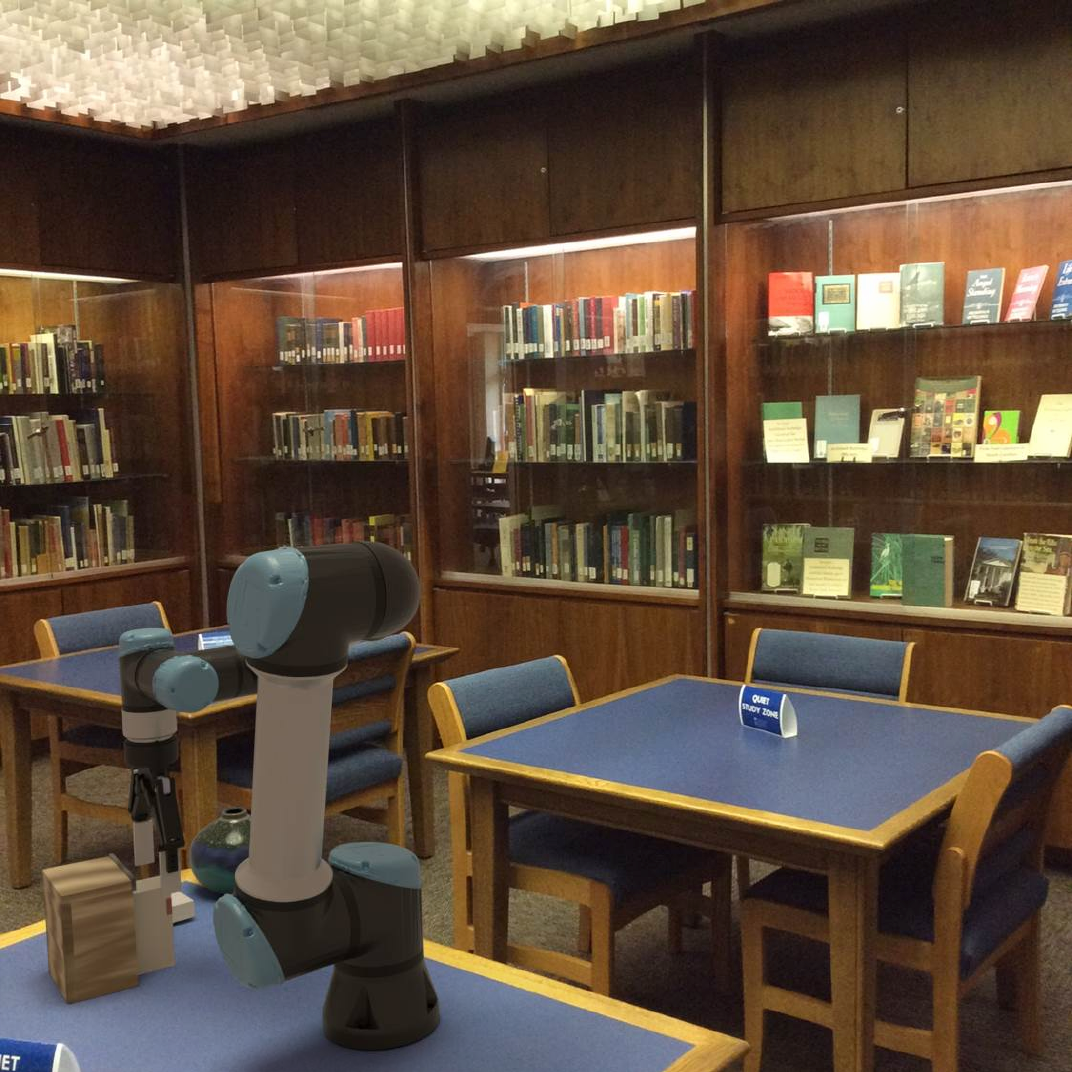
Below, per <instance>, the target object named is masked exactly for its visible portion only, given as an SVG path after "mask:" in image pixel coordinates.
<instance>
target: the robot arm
mask: <svg viewBox="0 0 1072 1072" xmlns="http://www.w3.org/2000/svg"><path fill="white" fill-rule="evenodd" d="M421 594H422V593H421V583H420V579H419V576H418V574H417V571H416V569H415V567H414V566H413V564H412V562H411V561H410V560H409V558H407V557H406V556H405V555H404V554H403V553H402V552H400V550H398V549H396V548H394V547H392V546H390V545H387V544H385V543H382V542H378V541H377V542H376V541H371V540H360V541H359V540H356V541H351V542H343V543H330V544H321V545H320V544H317V545H308V546H307V545H306V546H296V547H295V546H294V547H293V546H292V547H291V546H282V547H279V548H275V549H273V550H266V551H265V550H264V551H258V552H257V553H254V554H251V555H250V556H249V557H247V558H246V559H245V560H244V562H243V563H241V564H240V565H239V566H238V568H237V569H236V571H235V573H234V575H233V577H232V579H231V582H230V586H229V590H228V595H227V598H226V599H227V600H226V621H227V624H228V625H229V626H230V627H229V630H228V633H229V636H230V639H231V641H232V643H233V644H232V645H224V646H217V647H211V648H204V649H196V650H190V651H177V650H175V649H176V645H175V643H174V642H175V641H174V637H173V636H174V634H173V633H172V631H171V630H169V629H167V628H164V627H163V628H162V627H144V628H137V629H136V628H135V629H131V630H128V631H125V632H123V633H122V634H121V635H120V637H119V640H118V641H119V642H118V656H117V658H118V659H117V660H118V663H119V664H118V665H119V679H120V694H121V723H122V725H121V726H122V727H121V728H122V735H123V737H125V739H124V740H123V756H124V758H123V759H124V763H125V765H127V766H128V767H130V768H131V772H130V773H131V774H130V785H129V794H128V805H127V806H128V807H127V812H128V814H129V815H130V817H131V818H130V819H131V820H132V831H133V833H132V834H133V849H134V850H133V852H134V853H133V854H134V855H133V856H134V865H135V867H139V866H145V865H148V864H149V865H150V864H154V863H155V850H156V852H157V853H158V859H159V876H160V882H161V894H162V895H167V894H171V893H176V892H182V873H181V872H182V870H181V867H182V866H181V851H180V850H181V848H185V845H186V841H185V838H184V833H183V826H182V820H181V815H180V809H179V805H178V797H177V793H176V792H177V791H176V779H175V778H174V776H171V777H170V774H168V773H167V767H168V766H169V765H172V764H174V763H175V762H176V761H178V759H179V756H180V754H179V753H180V752H179V736H178V735H177V734H176V732H177V731H178V720H177V716H179V715H180V714H181V713H184V714H193V713H198V712H201V711H202V710H204V709H206V708H207V707H208V706H209V705H210V704H212V703H217V702H221V701H227V700H232V699H237V698H242V697H248V696H249V697H250V696H255V695H256V709H255V729H254V730H255V731H254V732H255V733H254V750H253V770H252V789H251V808H250V809H251V810H250V815H251V825H250V845H249V858H247V859H246V860H244V861H243V862H242V863H241V864H240V865H239V866H238V868H237V869H236V872H235V885H234V892H233V894H223V896H221V897H219V898H218V900H217V901H216V902H215V904H214V907H213V914H212V915H213V916H212V917H213V918H212V919H213V927H214V932H215V937H216V941H217V944H218V947H219V950H220V953H221V955H222V958H223V960H224V962H225V964H226V966H227V968H228V969H229V971H230V972H231V974H232V976H233V977H234V978H235V980H237V981H238V983H240V984H241V985H242V986H244V987H246V988H248V989H251V990H260V989H264V988H267V987H270V986H273V985H283V984H284V983H285V982H287V981H289V980H292V979H295V978H298V977H301V976H304V975H307V974H310V973H312V972H316V971H318V970H321V969H322V970H323V968H327V967H331V966H332V965H333V971H332V975H331V976H330V977H331V978H330V981H329V985H328V989H327V992H326V996H325V998H324V1003H323V1007H322V1014H321V1017H322V1018H321V1019H322V1021H321V1022H322V1032H323V1033H324V1035H325V1037H326V1038H328V1039H329V1040H330V1041H331V1042H333V1043H334V1044H337V1045H339V1046H343V1047H345V1048H349V1049H354V1050H365V1051H377V1050H379V1051H380V1050H387V1049H388V1050H389V1049H394V1048H399V1047H403V1046H406V1045H409V1044H412V1043H415V1042H417V1041H419V1040H421V1039H423V1038H424V1037H426V1036H428V1035H430V1034H431V1033H432V1032H433V1031H434V1030H435V1029H436V1027H437V1026H438V1024H439V1022H440V1001H439V997H438V994H437V992H436V989H435V985H434V984H433V983H434V982H433V980H432V978H431V974H430V973H429V969H428V968H427V965H426V962H425V950H424V924H423V923H424V921H423V920H424V919H423V917H424V916H423V894H422V892H423V891H422V888H423V887H424V884H423V881H422V880H423V879H422V871H421V864H420V860H419V858H418V857H417V855H416V854H415V853H414V852H413V851H411V850H409V849H408V848H405V847H403V846H400V845H396V844H393V843H387V842H386V843H385V842H376V841H374V842H373V841H360V842H358V841H357V842H348V843H343V844H339V845H338V846H335V847H334V848H333V849H331V850H330V852H329V857H327V861H326V860H325V859H324V858H322V855H323V839H324V827H325V826H324V825H325V824H324V823H325V811H326V810H325V809H326V796H327V795H326V794H327V781H328V767H329V766H328V765H329V749H330V736H331V723H332V722H331V721H332V720H331V719H332V704H333V691H334V690H333V689H334V688H333V687H334V679H335V678H336V677H337V676H338V675H339V674H341V673H342V672H343V671H345V670H346V669H347V667H348V664H349V663H348V662H349V661H348V660H349V650H350V649H351V648H352V647H354V646H355V645H357V644H359V643H361V642H370V643H371V642H378V641H381V640H383V639H385V638H387V637H389V636H391V635H393V634H395V633H397V632H398V631H400V630H402V629H403V628H405V627H406V626H407V625H408V624H409V623H410V622H411V620H413V618H414V616H415V615H416V613H417V611H418V608H419V607H420V601H421V597H422V596H421ZM151 818H152V819H153V818H154V822H155V823H154V824H155V827H156V831H157V834H158V839H159V844H160V845H158V846H157V848H156V849H154V848H155V845H154V844H155V843H154V825H153V820H152V819H151Z"/></svg>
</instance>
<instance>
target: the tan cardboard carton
mask: <svg viewBox="0 0 1072 1072" xmlns="http://www.w3.org/2000/svg"><path fill="white" fill-rule="evenodd" d="M136 889H137V891H133V897H134V915H135V932H136V950H137V967H138V976H139V975H142V974H147V973H150V972H154V971H158V970H162V969H166V968H170V967H174V966H176V959H175V958H176V957H175V955H176V954H175V938H174V937H175V936H174V923H173V916H172V898H171V894H167V895H162V894H161V882H160V875H156V876H152V877H147V878H143V879H142V878H141V879H139V880H137V879H136Z"/></svg>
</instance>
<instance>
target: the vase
mask: <svg viewBox="0 0 1072 1072" xmlns="http://www.w3.org/2000/svg"><path fill="white" fill-rule="evenodd" d="M250 825H251V814H249V813H248V811H247V809H246V808H245V807H240V806H239V807H238V806H237V807H230V808H229V807H228V808H226V809H223V810H222V812H221V816H220V817H218V818H216V819H215V820H213V821H211V822H210V823H208V824H207V825H205V826H204V827H203V828H202V829H201V830H199V831H198V833H196V835H195V836H194V838H193V840H192V842H191V845H190V847H189V850H188V855H189V856H188V859H189V865H190V866H189V867H190V868H191V869H190V870H191V872H192V873H193V875H194V877H195V879H196V880H197V882H198V883H199V884H200V885H202V886H203V887H204V888H206V889H207V890H209V891H212V892H213V893H217V894H222V895H225V894H233V892H234V885H235V872H236V869H237V868H238V866H239V865H240V864H241V863H242V862H243V861H244V860H246V859H247V858H249V845H250Z"/></svg>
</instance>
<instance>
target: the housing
mask: <svg viewBox="0 0 1072 1072" xmlns="http://www.w3.org/2000/svg"><path fill="white" fill-rule="evenodd" d="M41 872H42V874H41V875H42V888H43V902H44V905H43V906H44V920H45V934H46V949H47V950H46V951H47V965H48V967H47V969H48V973H49V975H50V976H51V978H52V980H53V982H54V983H55V985H56V986H57V989H58V990H59V992H60V993H61V995H62V996H63V998H64V1000H65V1002H66V1003H67V1005H71V1004H75V1003H78V1002H83V1001H86V1000H90V999H94V998H97V997H100V996H101V997H102V996H105V995H108V994H112V993H116V992H121V991H124V990H128V989H132V988H135V987H139V975H138V967H137V950H136V932H135V915H134V897H133V891H137V889H136V881H137V878H136V877H135V875H134V874H133V873H132V872H131V871H130V870H129V869H128V868H127V867H126V866H125V865H124V864H123V863H122V861H120V859H119V858H118V857H117V856H116V855H115V854H114V853H113V852H112V853H108V856H102V857H98V858H93V859H88V860H83V861H78V862H73V863H69V864H63V865H59V866H54V867H49V868H45V869H42V870H41Z"/></svg>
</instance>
